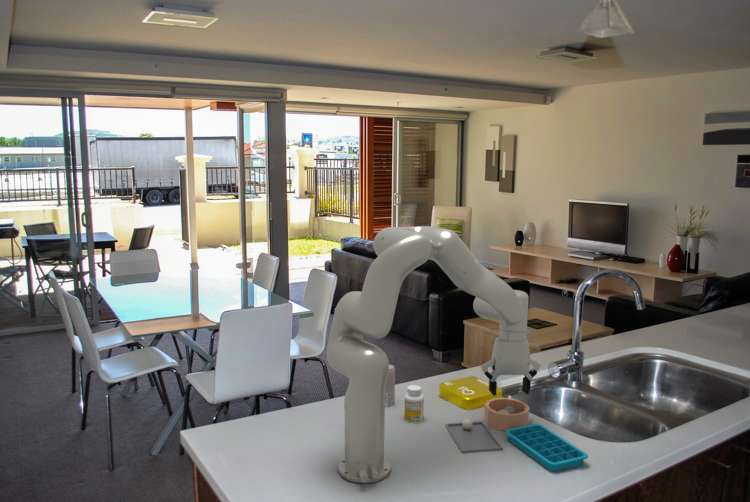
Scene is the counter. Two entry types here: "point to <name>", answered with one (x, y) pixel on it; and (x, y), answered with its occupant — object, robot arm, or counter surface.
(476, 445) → the parts tray
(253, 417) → the counter surface
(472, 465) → the counter surface
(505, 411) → the pebble
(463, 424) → the pebble
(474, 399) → the element tile
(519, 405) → the bowl
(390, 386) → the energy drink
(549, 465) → the ice cube tray
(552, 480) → the counter surface
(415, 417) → the supplement bottle
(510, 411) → the pebble
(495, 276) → the robot arm
